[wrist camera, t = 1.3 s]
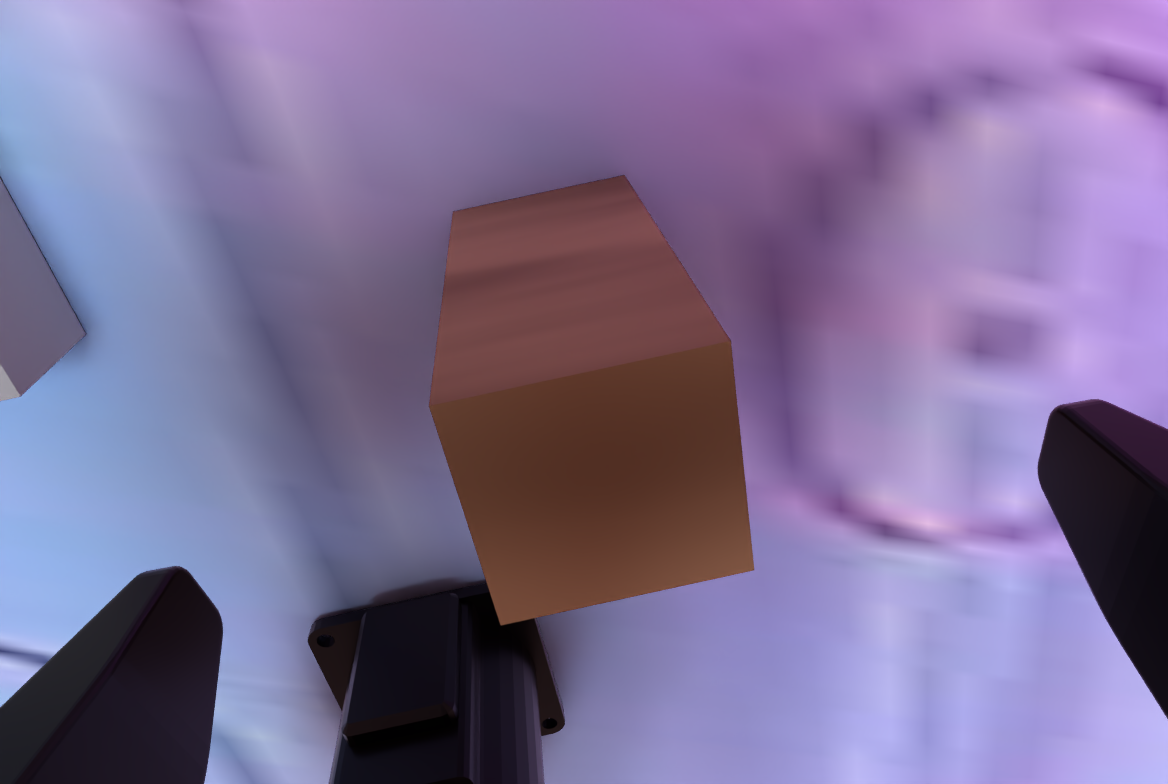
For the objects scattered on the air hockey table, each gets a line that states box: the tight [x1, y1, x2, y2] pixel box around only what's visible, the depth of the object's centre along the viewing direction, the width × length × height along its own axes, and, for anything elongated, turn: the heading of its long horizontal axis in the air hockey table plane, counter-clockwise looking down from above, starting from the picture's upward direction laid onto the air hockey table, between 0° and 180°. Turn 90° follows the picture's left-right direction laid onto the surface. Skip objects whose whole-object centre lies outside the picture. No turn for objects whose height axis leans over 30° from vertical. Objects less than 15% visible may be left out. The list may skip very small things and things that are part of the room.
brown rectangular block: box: [429, 175, 754, 625], centre depth 15 cm, size 4×4×9 cm
